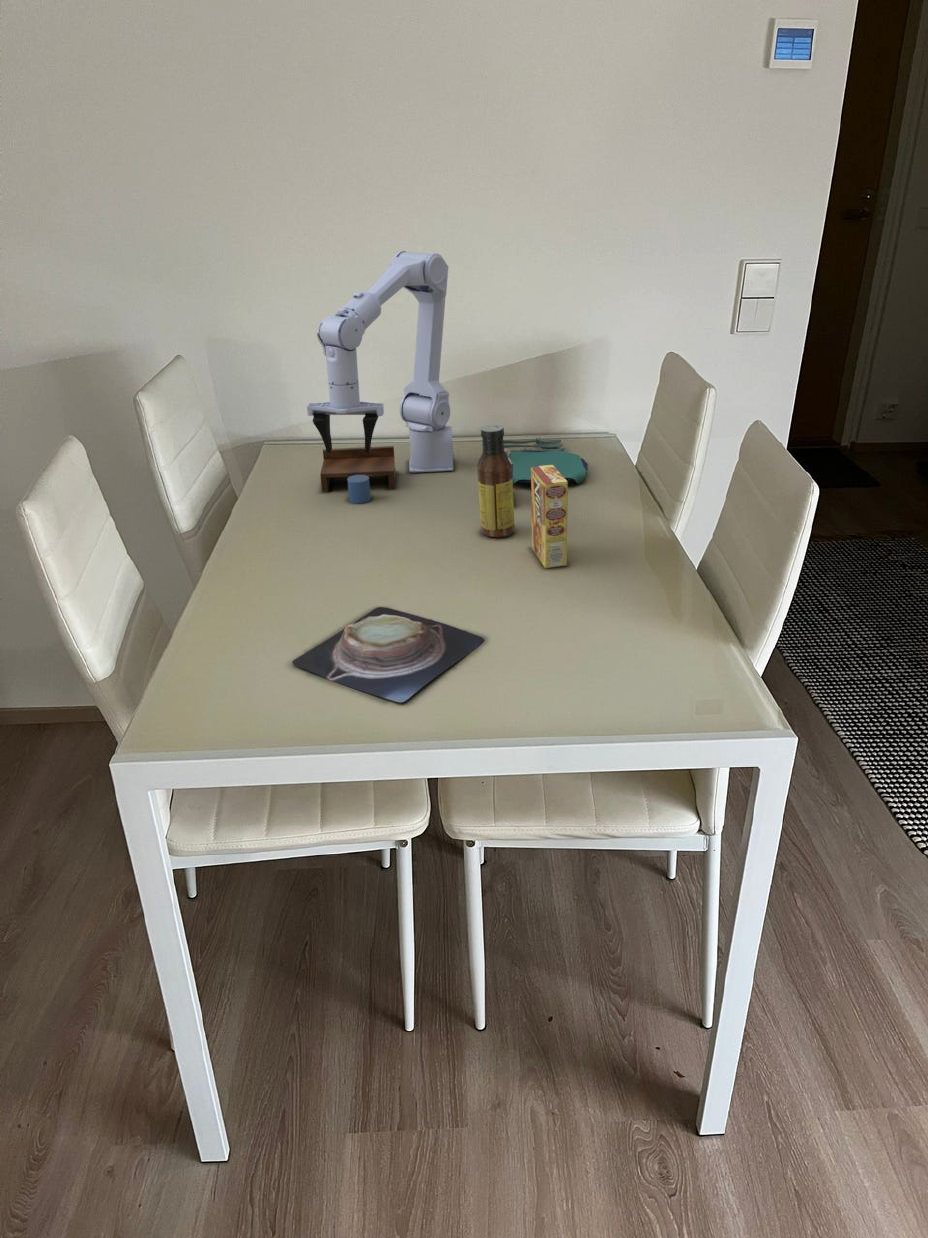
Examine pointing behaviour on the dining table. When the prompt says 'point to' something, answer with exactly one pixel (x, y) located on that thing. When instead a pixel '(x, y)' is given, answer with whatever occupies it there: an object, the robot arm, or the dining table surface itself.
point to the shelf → (358, 464)
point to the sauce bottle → (495, 484)
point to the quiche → (389, 653)
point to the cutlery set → (545, 460)
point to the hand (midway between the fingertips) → (348, 451)
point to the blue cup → (359, 488)
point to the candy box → (549, 515)
